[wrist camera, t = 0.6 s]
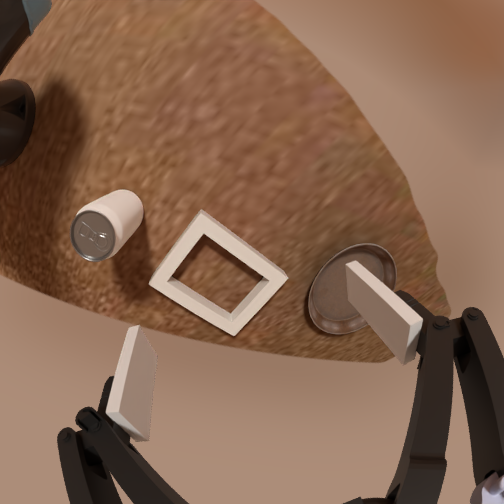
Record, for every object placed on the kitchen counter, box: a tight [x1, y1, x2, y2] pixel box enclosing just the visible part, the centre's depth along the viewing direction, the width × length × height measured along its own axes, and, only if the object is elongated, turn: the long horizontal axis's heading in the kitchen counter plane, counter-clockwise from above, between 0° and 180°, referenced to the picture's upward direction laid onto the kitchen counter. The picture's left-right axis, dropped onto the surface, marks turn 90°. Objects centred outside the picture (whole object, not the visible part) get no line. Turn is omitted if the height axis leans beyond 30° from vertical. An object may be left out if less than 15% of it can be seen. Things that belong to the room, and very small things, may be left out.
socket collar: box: [149, 209, 288, 336], centre depth 40 cm, size 16×13×2 cm
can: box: [70, 190, 144, 262], centre depth 30 cm, size 6×6×12 cm
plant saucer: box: [308, 243, 397, 334], centre depth 45 cm, size 18×18×3 cm
